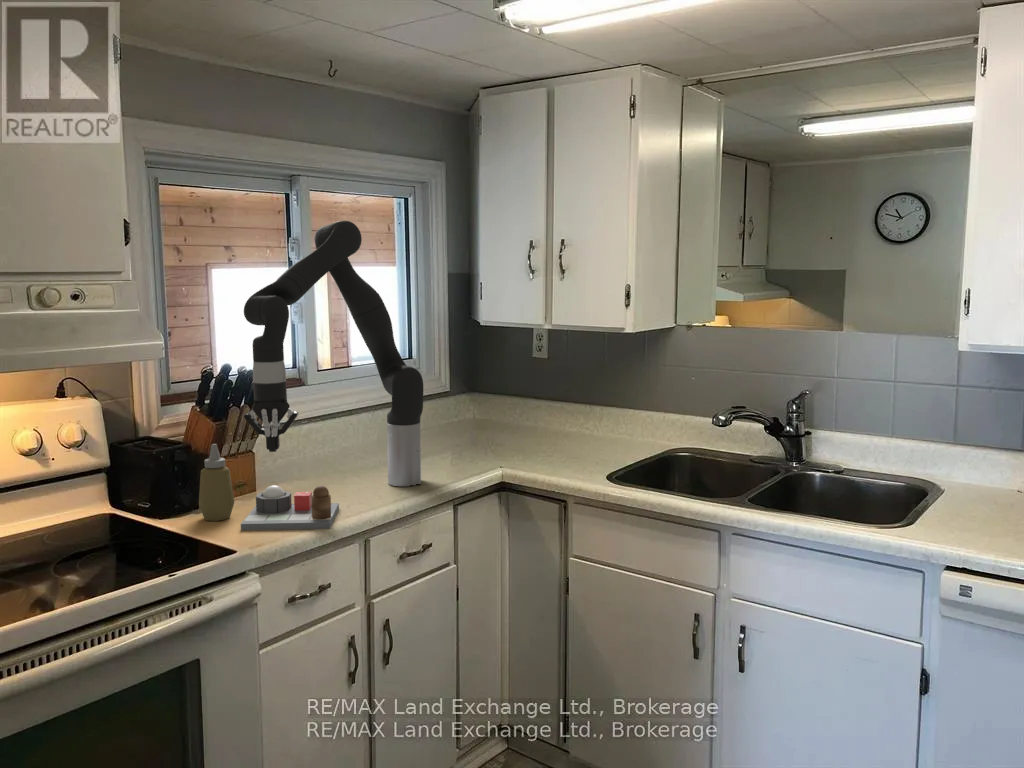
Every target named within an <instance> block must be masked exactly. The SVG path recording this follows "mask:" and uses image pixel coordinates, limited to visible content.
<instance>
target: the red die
mask: <svg viewBox="0 0 1024 768" xmlns="http://www.w3.org/2000/svg"><path fill="white" fill-rule="evenodd" d="M312 495H313V492H312V491H296V492H295V494H294V496H293V504H294V509H295V510H310V509H311V507H312V499H311V496H312Z"/></svg>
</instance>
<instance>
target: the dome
mask: <svg viewBox="0 0 1024 768" xmlns="http://www.w3.org/2000/svg"><path fill="white" fill-rule="evenodd" d="M284 491H285V490H284V489H283V488H282V487H281V486H280V485H276V484H273V485H269V486H267V487H266V488H264V491H263V492H264V493H263V497H264V498H278V497H282V496H284Z"/></svg>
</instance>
